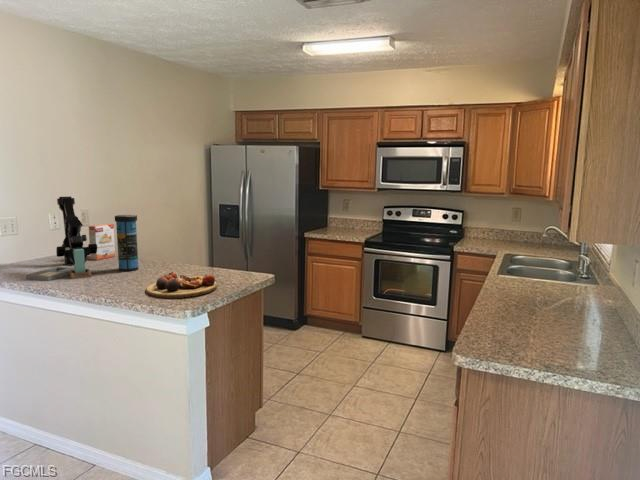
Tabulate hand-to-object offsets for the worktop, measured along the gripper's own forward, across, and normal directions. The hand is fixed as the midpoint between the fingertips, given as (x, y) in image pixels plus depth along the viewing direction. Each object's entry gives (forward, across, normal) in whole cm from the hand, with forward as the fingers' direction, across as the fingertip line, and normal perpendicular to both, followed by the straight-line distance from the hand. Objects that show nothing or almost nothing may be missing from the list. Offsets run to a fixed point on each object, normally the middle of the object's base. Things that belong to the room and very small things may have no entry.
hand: (79, 263), depth 232 cm
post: (+4, 0, +6) cm, 7 cm away
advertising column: (+3, +24, +8) cm, 26 cm away
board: (-3, -11, +13) cm, 17 cm away
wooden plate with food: (+42, +36, -31) cm, 63 cm away
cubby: (+4, 0, +6) cm, 7 cm away
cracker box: (-26, +19, +37) cm, 49 cm away
